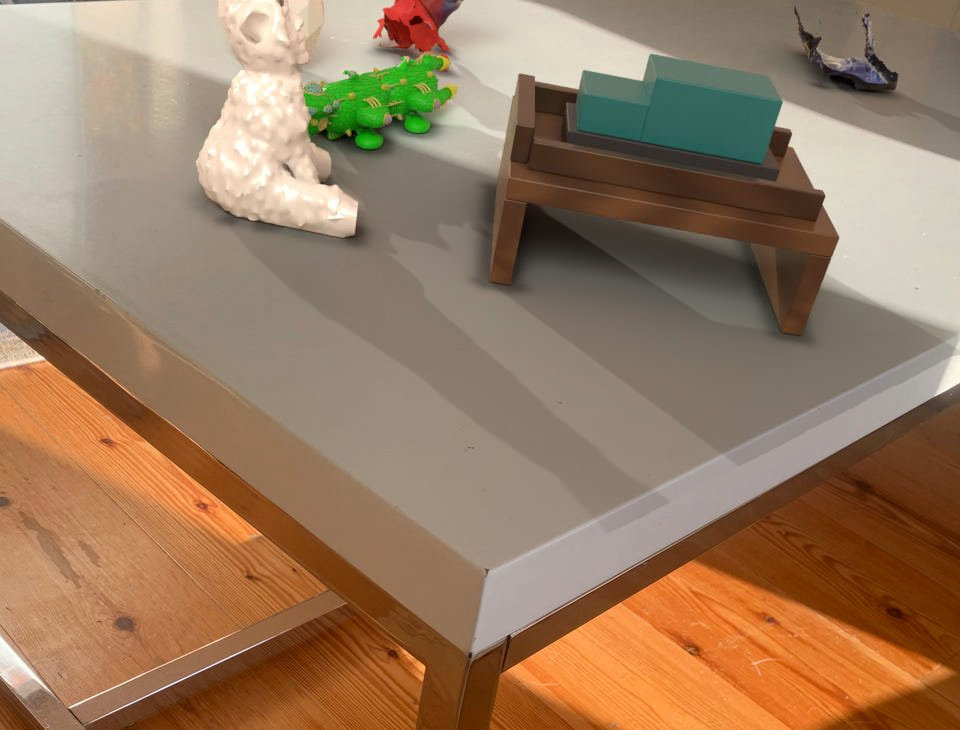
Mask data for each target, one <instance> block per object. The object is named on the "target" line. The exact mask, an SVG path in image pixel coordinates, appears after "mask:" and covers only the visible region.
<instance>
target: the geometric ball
mask: <svg viewBox="0 0 960 730" xmlns="http://www.w3.org/2000/svg"><path fill="white" fill-rule="evenodd" d="M227 1H230V0H218V6H217V19H218V21H219V23H220V25H221V27H222V29H223V31H224V34H225V36H226V37H227V39H228V41H230V39H229V37H228V34H227V30H226V26H225V19H226V16H227V12H226V8H225V3H226V2H227ZM288 6H289V8H290V9H291V10H292V11H293V12H295V13H296V14H298V15H299V16H300V17H301V18H302V19H303V20H304V25H303V26H302V27H301V31H302V32H303V34H304V35H305V38H304V40H305V42H306V50H307V51H308V53H309V55H311V53H312V51H313V49H314V47H315V44H316V42H317V40H318V38H319V36H320V34H321V31H322V29H323V26H324V23H325V2H324V0H288Z"/></svg>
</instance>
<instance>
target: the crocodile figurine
mask: <svg viewBox="0 0 960 730" xmlns="http://www.w3.org/2000/svg"><path fill="white" fill-rule="evenodd" d="M451 65H452V62H451V60H450V59H449V60H448V59H447V58H445V57H443V56H439V55H437V54H433V53H432V52H431V51H429V52H428V51H427V52H423V54H421V55H420V56H419V57H417V58H416V59H412V58H411V57H410V56H408V55H407V56H405V55H403V56H402V57H400V63H399V64H398V65H395V66H391V67H388V68H383V69H378V68H377V67H373V68H372V71H370V72H364V73H362V74H359V73H358V71H355V70H354V69H349V70H346V69H345V70H344V71H343V72H342V74H343V75H344V76H348V78H345V79H341V80H337V81H333V82H329V83H326V81H325V80H320V83H318V82H316V81H310V82H306V83H305V84H304V85H303V86H302V87H303V92H304V98H305V103H306V107H308V113H309V114H310V115H311V122H310V123H309V125H308V136H309V138H310V139H311V138H312V137H313V136H314V135H316V134H319V133H321V132H323V131H327V135H326V136H327V139H328V140H329V141H333V140H337V139H339V138H341V137H343V136H344V135H345V134H346V135H347V136H348V137H352V134H353V133H352V131H355V133H356V136H355V138H354V143H355V145H356V146H357V147H359V148H361V149H363V150H377V149H379V148H381V147H382V146H383V143H384V136H382V135H381V134H379V133H377V132H376V131H375V129H380V128H383V127H384V126H385V127H386V126H389V125H390V124H391V123H392V122H393V118H396V119H397V120H398V121H402V120H403V116H404V118H405V121H404V124H403V126H404V129H405V130H406V131H408V132H410V133H413V134H425V133H427V132H429V130H430V129H431V121H430V120H429V119H427V118H425V117H424V116H423V115H421V114H420V113H425V114H426V113H427V114H428V113H431V112H433V111H437V110H442V109H443V110H444V108H445V107H446V105H447V103H448V102H449V101H451V100H452V99H454V96H456V94H457V93H458V86H457V85H455V84H447V85H446V84H445V85H443V86H442V88H441V89H438V87H439V84H438V82H439V79H438V78H437V76H436V74H435V72H434V71H438V72H442V71H444V69H446V68H448V69H449V67H450V66H451ZM310 143H313V142H312V140H311V141H310Z"/></svg>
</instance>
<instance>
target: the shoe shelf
mask: <svg viewBox="0 0 960 730" xmlns="http://www.w3.org/2000/svg"><path fill="white" fill-rule="evenodd" d="M578 90H579V88H573V87H568V86H565V85H557V84H554V83H553V84H552V83H548V82H541V81H536V76H535V75H530V74H526V73H518V75H517V80H516V85H515V91H514V95H512V99H511V103H510V110H509V116H508V120H507V121H508V122H507V126H506V132H505V138H504V142H503V148H502V153H501V160H500V164H499V169H498V176H497V181H496V188H495V200H494V212H493V226H492V239H491V253H490V267H489V279H488V281H489V282H490V283H495V284H502V285H505V286H506V285H507V286H511V284H512V279H513V275H514V269H515V264H516V261H517V254H518V250H519V244H520V239H521V234H522V229H523V224H524V221H525V220H524V219H525V215H526V211H527V205H528V204H534V205H539V206H544V207H550V208H555V209H560V210H566V211H571V212H577V213H584V214H588V215H593V216H599V217H605V218H610V219H616V220H622V221H627V222H633V223H639V224H644V225H649V226H655V227H661V228H665V229H671V230H679V231H684V232H688V233H694V234H698V235H699V234H700V235H706V236H710V237H715V238H721V239H727V240H733V241H738V242H744V243H748V244H749V245H750V249H751V251H752V254H753V258H754V259H755V262H756V266H757V269H758V270H759V273H760V276H761V279H762V282H763V284H764V287H765V290H766V293H767V295H768V298H769V301H770V304H771V306H772V309H773V313H774V315H775V318H776V320H777V323H778V327H779V329H780V331H781V333H783V334H788V335H795V336H799V337H800V336H802V335H803V333H804V330H805V328H806V325H807V322H808V320H809V318H810V315H811V312H812V310H813V307H814V304H815V302H816V299H817V296H818V294H819V291H820V289H821V286H822V284H823V281H824V279H825V276H826V274H827V271H828V269H829V266H830V263H831V261H832V258H833V256H834V253H835V250H836V248H837V247H838V243H839V240H840V235H839V233H838V231H837V230H836V229H837V228H836V227H835V225H834V224H833V222H832V220H831V218H830V216H829V213H828V212H827V210H826V208H825V206H824V202H825V199H826V194H825V192H824V190H823V189H818V188H815V187H814V185H813V184H812V181H811V179H810V177H809V175H808V174H807V172H806V170H805V168H804V166H803V164H802V162H801V160H800V159H799V156H798V154H797V152H796V150H795V149H794V147H793V146H789V145H790V142H791V139H792V136H793V132H792V130H791V129H790V128H787V127H781V126H776V125H775V127H774V130H773V133H772V137H771V140H770V143H769V147H770V150H771V152H772V154H773V156H774V158H775V160H776V162H777V164H778V166H779V168H780V172H779V175H778V178H777V181H776V182H775V181H769V180H764V179H759V178H753V177H748V176H742V175H737V174H732V173H726V172H721V171H715V170H710V169H704V168H699V167H694V166H688V165H683V164H677V163H672V162H667V161H661V160H656V159H650V158H645V157H639V156H634V155H629V154H623V153H618V152H612V151H607V150H601V149H596V148H591V147H585V146H580V145H574V144H569V143H564V142H562V129H561V126H562V122H563V117H564V112H565V107H566V103H567V102H569V103H574V104H576V99H577V95H578Z"/></svg>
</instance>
